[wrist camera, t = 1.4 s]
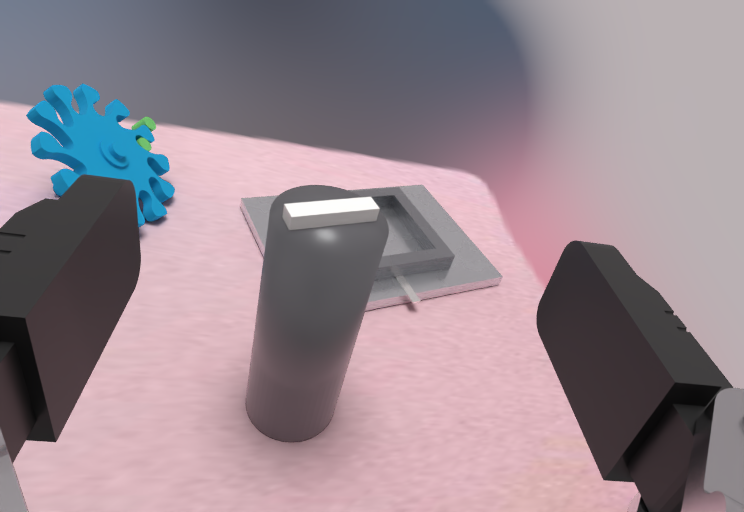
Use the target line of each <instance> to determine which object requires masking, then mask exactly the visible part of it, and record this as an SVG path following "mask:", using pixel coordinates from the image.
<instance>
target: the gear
mask: <svg viewBox="0 0 744 512" xmlns="http://www.w3.org/2000/svg"><path fill="white" fill-rule="evenodd" d="M43 94H44V97H45V99H46V100H47V101H48V102H49V103H48V102H47V101H45V100H44V101H41V102H40V103H39V104H37V105H36V106H35V107H33V108H32V109H31V110H30V111H29V112H28V114H27V115H26V116H27V117H28V119H29V120H30V121H31V122H32V123H34V124H35V125H38V126H40V127H42V128H44V129H45V130H47V131H48V132H50V133H51V134H52V135H53V136H54V137H55V138H56V139H57V140H58V141H59V142H60V144H61V145H62V146H63V147H62V146H61V145H60V144H59V143H58V141H57V140H56V139H55V138H54V137H53V136H52V135H50V134H49V133H46V132H40V133H39V134H38V135H36V136H35V137H34V138H32V140H31V150H32V154H33V155H34V156H35V157H37V158H39V159H53V160H57V161H60V162H62V163H64V164H66V165H68V166H69V167H71V168H72V169H74V171H71V170H69V169H62V170H60V171H59V172H57V173H56V174H54V175H53V176H52V177H51V180H52V183H53V190H54V192H55V193H56V194H57V195H59V196H62V195H63V194H64V193H65V192H66V191H67V190H68V188H69V187H70V186H71V185H72V184H73V183H74V182H75V181H76V180H77V178H78V177H79V176H81V175H83V174H87V175H95V176H102V177H110V178H117V179H125V180H130V181H132V183H133V185H134V187H135V192H136V203H137V215H138V228H139V227H140V226H142V225H144V223H145V218H146V220H147V221H155V220H157V219H159V218H160V217H162V216H164V215H165V214H167V211H166V208H165V207H164V206H163V204H161V203H163V202H164V201H166V200H168V199H169V198H171V197H172V196H173V194H174V191H175V189H174V187H173V186H172V185H171V184H170V183H169V182H166V181H164V180H163V179H161V178H160V177H159V176H161V175H163V174H165V173H166V172H168V171H169V162H168V158H167V157H166V156H164V155H162V154H153V153H150V152H148V151H150V150H151V144H150V143H152V142H153V141H154V137H153V135H152V133H151V132H152V131H153V130H154V129H156V125H155V123H154V121H153V120H152V119H151V118H149V117H144V118H143V119H142V120H140V121H139V122H137V123H136V124H135V125H133V126H132V130H130V129H125V128H123V127H121V126H120V125H119V124H118V122H121V121H122V120H123V119H125V118H126V117H127V116H128V115H129V114H130V112H129V110H128V109H127V108H126V107H125V106H124V105H123V104H122V103H121V102H120V101H119V100H117V99H115V100H114V101H112V102H111V103H110V104H108V105H107V106H106V107H105V116H101V115H99V114H98V113H97V112H96V111H95V110H94V108H93V104H94V103H96V102H97V101H98V100H99V99H100V96H99V93H98V92H97V91H96V90H95V89H93V88H91V87H89V86H87V85H85V84H82V85H80V86H79V87H78V88H76V89H75V90H74V92H73V95H74V98H75V99H76V101H77V104H78V107H79V114H78V113H77V112H76V111H75V110H74V109H73V108H72V106H71V101H72V94H71V92H70V90H69V89H68V88H67V87H66V86H62V85H52V86H51V87H49V88H48V89H47V90H46V91H44V93H43ZM53 107H54V108H53ZM55 110H56V111H57V112H58V114H59V115H60V117H61V119H62V121H63V124H62V123H61V122H60V121H59V119H58V117H57V114H56V111H55ZM151 188H152V189H151ZM152 191H153V192H152ZM138 197H139V198H140V199H141V200H142V202H143V214H142V212H141V210H140V207H139V202H138ZM160 202H161V203H160ZM143 215H144V216H143ZM144 217H145V218H144Z"/></svg>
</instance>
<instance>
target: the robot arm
mask: <svg viewBox="0 0 744 512" xmlns="http://www.w3.org/2000/svg"><path fill="white" fill-rule="evenodd" d="M140 263H141V253H140V240H139V228H138V215H137V203H136V192H135V187H134V185H133V183H132V181H130V180H125V179H117V178H110V177H102V176H95V175H87V174H83V175H81V176H79V177H78V178H77V180H76V181H75V182H74V183H73V184H72V185H71V186H70V187H69V188H68V190H67V191H66V192H65V193H64V194H63V195H62V196H61V197H60V198H59V199H58V200H53V199H44V200H41V201H39V202H37V203H35V204H33V205H31V206H29V207H27V208H25V209H23V210H21V211H19V212H17V213H15V214H14V215H13V216H12V217H11V218H10V219H9V220H8V221H7V222H6V223H5V224H4V225H3V226H2V227H1V228H0V512H28V509H27V506H26V502H25V499H24V496H23V493H22V490H21V487H20V484H19V481H18V478H17V475H16V472H15V469H14V466H13V462H14V460H15V458H16V456H17V455H18V453H19V451H20V449H21V448H22V446H23V444H24V442H25V441H26V440H32V441H47V442H56V441H57V439H58V437H59V436H60V434H61V432H62V430H63V428H64V426H65V424H66V422H67V420H68V418H69V416H70V414H71V412H72V410H73V408H74V406H75V404H76V402H77V400H78V399H79V397H80V395H81V393H82V391H83V389H84V387H85V385H86V383H87V381H88V379H89V377H90V375H91V373H92V371H93V369H94V367H95V365H96V363H97V362H98V360H99V358H100V356H101V354H102V352H103V350H104V348H105V346H106V344H107V342H108V340H109V338H110V336H111V334H112V332H113V330H114V328H115V326H116V325H117V323H118V321H119V319H120V317H121V315H122V313H123V311H124V309H125V307H126V305H127V303H128V301H129V299H130V297H131V295H132V293H133V291H134V289H135V287H136V284H137V281H138V277H139V272H140ZM673 313H674V311H673V310H672V309H671V307H670V306H669V305H668V304H667V302H666V301H665V300H664V299H663V297H662V296H661V295H660V293H659V292H658V291H657V290H655V289H654V288H653V287H651V286H650V285H649V284H648V283H646V282H645V281H644V280H643V279H641V278H640V277H639V276H637V275H636V273H635V272H634V271H633V269H632V268H631V267H630V265H629V264H628V263H627V261H626V260H625V259H624V257H623V256H622V255H621V254H620V252H619V251H618V250H617V249H616V248H615V247H614V246H611V245H604V244H597V243H590V242H582V241H572V242H570V243H569V244H568V245H567V246H566V247H565V249H564V251H563V253H562V255H561V257H560V259H559V261H558V263H557V266H556V268H555V270H554V272H553V274H552V276H551V279H550V281H549V283H548V285H547V287H546V289H545V291H544V294H543V296H542V298H541V300H540V303H539V306H538V310H537V329H538V332H539V335H540V337H541V340H542V342H543V344H544V346H545V349H546V351H547V353H548V356H549V358H550V360H551V362H552V365H553V367H554V369H555V371H556V374H557V376H558V378H559V380H560V383H561V385H562V387H563V389H564V392H565V394H566V396H567V398H568V401H569V403H570V405H571V408H572V410H573V412H574V414H575V417H576V419H577V421H578V423H579V426H580V428H581V430H582V432H583V435H584V437H585V439H586V441H587V444H588V446H589V448H590V450H591V453H592V455H593V457H594V459H595V462H596V464H597V466H598V469H599V471H600V473H601V475H602V478H603V480H608V481H624V482H635V484H636V487H637V489H638V491H639V492H638V493H637V494H636V495H635V497H634V498H633V499H632V500H631V502H630V504H629V507H628V510H627V512H744V389H740V388H733V387H732V385H731V384H730V383H729V382H728V380H727V379H726V378H725V376H724V375H723V374H722V372H721V371H720V370H719V369H718V367H717V366H716V365H715V364H714V362H713V361H712V360H711V359H710V357H709V356H708V355H707V353H706V352H705V351H704V350H703V348H702V347H701V346H700V344H699V343H698V342H697V341H696V339H695V338H694V337H693V335H692V334H691V333H690V332H686V327H685V325H684V324H683V323H682V321H681V320H680V319H679V318H678V316H675V315H673Z"/></svg>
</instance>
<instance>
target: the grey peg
mask: <svg viewBox="0 0 744 512" xmlns="http://www.w3.org/2000/svg"><path fill="white" fill-rule="evenodd" d="M379 209H380V208H379V207H378V206H377V204H376V203H375V202H374V200H373V199H372V198H371V197H361V196H360V195H358V194H355V193H353V192H350V191H347V190H345V189H341V188H337V187H332V186H324V185H307V186H300V187H296V188H292V189H290V190H287V191H285V192H283V193H282V194H280V195H279V196H278V197H277V198H276V199H275V200H274V201H273V203H272V205H271V208H270V213H269V221H268V229H267V237H266V245H265V253H264V261H263V268H262V276H261V284H260V292H259V300H258V308H257V316H256V324H255V332H254V340H253V347H252V355H251V363H250V371H249V379H248V387H247V395H246V409H247V413H248V416H249V418H250V420H251V422H252V423H253V424H254V426H255V427H256V428H257V429H258V430H259V431H261V432H262V433H263V434H265V435H267V436H268V437H270V438H273V439H276V440H279V441H285V442H299V441H304V440H307V439H310V438H312V437H314V436H316V435H318V434H319V433H320V432H322V431H323V430H324V429H325V428H326V427H327V425H328V424H329V422H330V421H331V418H332V416H333V413H334V410H335V406H336V403H337V400H338V397H339V393H340V390H341V387H342V384H343V381H344V377H345V374H346V371H347V368H348V364H349V361H350V358H351V355H352V352H353V348H354V345H355V342H356V339H357V335H358V332H359V329H360V326H361V323H362V319H363V316H364V313H365V310H366V306H367V303H368V300H369V297H370V294H371V290H372V287H373V284H374V281H375V277H376V274H377V271H378V268H379V264H380V261H381V258H382V255H383V252H384V248H385V245H386V242H387V239H388V235H389V226H388V223H387V220H386V218H385V216H384V215H383V213H382V212H381V211H380V210H379Z"/></svg>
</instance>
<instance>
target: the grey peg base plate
mask: <svg viewBox="0 0 744 512" xmlns="http://www.w3.org/2000/svg"><path fill="white" fill-rule="evenodd" d="M347 191H350V192H353V193H355V194H358V195H360V196H361V197H371V198H372V199H373V200H374V202H375V203H376V204H377V206H378V207H379V208H380V209H379V210H380V211H381V212H382V213H383V215H384V216H385V218H386V220H387V223H388V226H389V235H388V239H387V242H386V245H385V248H384V252H383V255H382V258H381V261H380V264H379V268H378V271H377V274H376V277H375V281H374V284H373V287H372V290H371V294H370V297H369V300H368V303H367V306H366V310H365V311H368V310H373V309H378V308H383V307H388V306H393V305H398V304H403V303H408V302H412V303H417V302H421V300H424V299H429V298H434V297H439V296H444V295H449V294H454V293H459V292H464V291H469V290H474V289H479V288H485V287H490V286H495V285H499V283H500V281H501V279H502V277H503V276H502V275H501V274H500V273H499V272H498V271H497V270H496V268H495V267H494V266H493V265H492V264H491V263H490V262H489V260H488V259H487V258H486V257H485V256H484V255H483V254H482V252H481V251H480V250H479V249H478V248H477V247H476V246H475V244H474V243H473V242H472V241H471V240H470V239H469V237H468V236H467V235H466V234H465V233H464V232H463V231H462V229H461V228H460V227H459V226H458V225H457V224H456V223H455V221H454V220H453V219H452V218H451V217H450V216H449V215H448V213H447V212H446V211H445V210H444V209H443V208H442V206H441V205H440V204H439V203H438V202H437V201H436V200H435V198H434V197H433V196H432V195H431V194H430V193H429V192H428V190H427V189H426V188H425V187H424V186H423V185H413V186H400V187H386V188H373V189H360V190H347ZM277 197H278V196H267V197H253V198H241V209H242V212H243V214H244V216H245V218H246V220H247V222H248V225H249V227H250V229H251V231H252V233H253V235H254V238H255V240H256V242H257V244H258V246H259V248H260V250H261V253H262V255H263V257H264V253H265V245H266V237H267V229H268V221H269V213H270V208H271V205H272V203H273V201H274V200H275V199H276V198H277Z"/></svg>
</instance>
